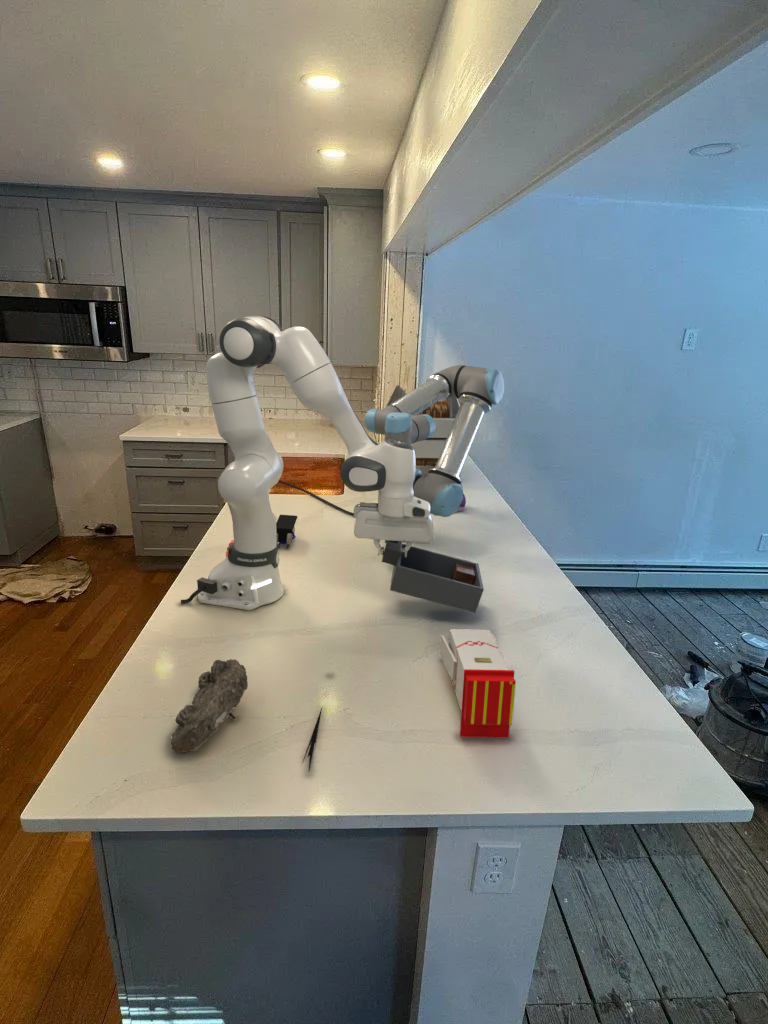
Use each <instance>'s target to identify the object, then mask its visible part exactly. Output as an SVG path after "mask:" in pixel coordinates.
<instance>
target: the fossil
mask: <svg viewBox="0 0 768 1024" xmlns="http://www.w3.org/2000/svg"><path fill="white" fill-rule="evenodd" d="M197 683H198V684H197V687H198V690H197V691H196V693H195V694H194V697H193V698H192V701H191V704H187V705H185V706H184V707H183V708H182V709H181V710H179V712H178V713H177V715H176V717H175V719H174V721H175V723H176V725H177V726H176V728H175V730H174V731H173V732H172V733H171V735H170V736H171V738H170V747H171V750H172V751H176V752H178V753H186V752H190V751H193V752H195V751H197V750H198V749H199V748H200V747H201V746H202V745H203V744H204V743H205V742H207V741H208V740H209V739H210V737H211V736H212V735H213V734H215V733H216V731H218V730H219V729H220V728H221V726H222V725H223V723H224V721H225V720H226V719H227V718H228V717H230V718H232V720H235V719H236V716H235V715H234V714H233V713H232V710H233V709H235V708H237V706H238V705H239V704H240V702H241V700H242V698H243V696H244V693H245V691H246V690H247V689H248V686H249V685H248V675H247V669H246V668H245V666H244V665H243V664H241V663H240V661H238V660H237V659H236V658H234V659H232V658H230V659H226V660H221V659H216V660H214V661H213V662H212V665H211V667H210V671H208V670H207V671H205V672H201V674H200V675H199V676H198V681H197Z"/></svg>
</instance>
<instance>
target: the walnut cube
mask: <svg viewBox="0 0 768 1024" xmlns="http://www.w3.org/2000/svg"><path fill="white" fill-rule="evenodd" d="M474 578H475V571H474V568H472V567H469V566H465V565H461V564H457V563H456V565H455V568H454V571H453V574H452V577H451V580H455V581H459V582H463V583H466V584H470V585H472V584H473V581H474Z"/></svg>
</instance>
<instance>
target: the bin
mask: <svg viewBox="0 0 768 1024" xmlns="http://www.w3.org/2000/svg"><path fill="white" fill-rule="evenodd" d="M406 546H407V545H406V543H403V542H402V543H400V544H397V543H393V542H389V541H387V542H386V543H385V546H384V554H383V555H382V559H381V563H385V564H388V565H392V566H393V568H392V573H391V574H392V575H391V580H390V588H389V591H391V592H394V593H399V594H401V595H402V594H403V595H406V596H410V597H414V598H417V599H421V600H425V601H430V602H432V603H436V604H440V605H443V606H448V607H452V608H455V609H459V610H463V611H467V612H470V613H473V614H476V613H477V610H478V607H479V604H480V602H481V599H482V595H483V593H484V590H485V589H484V584H483V579H482V574H481V569H480V564H479V563H478V562H473V561H469V560H466V559H462V558H458V557H455V556H450V555H447V554H443V553H439V552H437V551H431V550H428V549H424V548H420V547H417V546H413V545H412V546H411V547H410V549H409V550H408V551H407V557H401V550H402V548H405V547H406ZM456 563H457V564H461V565H465V566H469V567H472V568H474V571H475V578H474V581H473V584H472V585H470V584H466V583H463V582H459V581H455V580H451V577H452V574H453V571H454V568H455V565H456Z"/></svg>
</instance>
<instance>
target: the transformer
mask: <svg viewBox="0 0 768 1024" xmlns="http://www.w3.org/2000/svg"><path fill="white" fill-rule="evenodd" d="M406 394H407V393H406V390H405V389H404V388H402V387H401V385H399V384H397V385H396V386H395V388H394V389H393V392H392V393H391V395H390V398H389V400H388V402H387V403H386V405H385V407H387V406H388V405H390V404H392V403H393V402H395V401H397V400H398V399H400V398H401V397H403V396H405V395H406ZM459 407H460V404H459V401H458V399H456V398H448V399H445V400H444V401H437V402H436V403H434V404H433V405H431V406H430V407H428V408H426V409H425V410H423V411H422V412H420V413H419V414H417V415H420V414H422V415H423V414H427V415H430V416H431V417H432V418H433V419H434V421H435V424H436V430H435V433H434V435H433V436H432V437H430V438H428V439H426V440H423V441H419V442H415V443H412V444H411V446H412V447H413V449H414V451H415V458H416V467H426V466H427V467H435V466H436V464H437V461H438V459H439V456H440V454H441V451H442V449H443V446H444V444H445V441H446V439H447V437H448V434H449V432H450V429H451V427H452V424H453V422H454V419H455V417H456V414H457V412H458V409H459ZM384 440H385V438H384ZM384 440H383V441H384Z"/></svg>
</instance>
